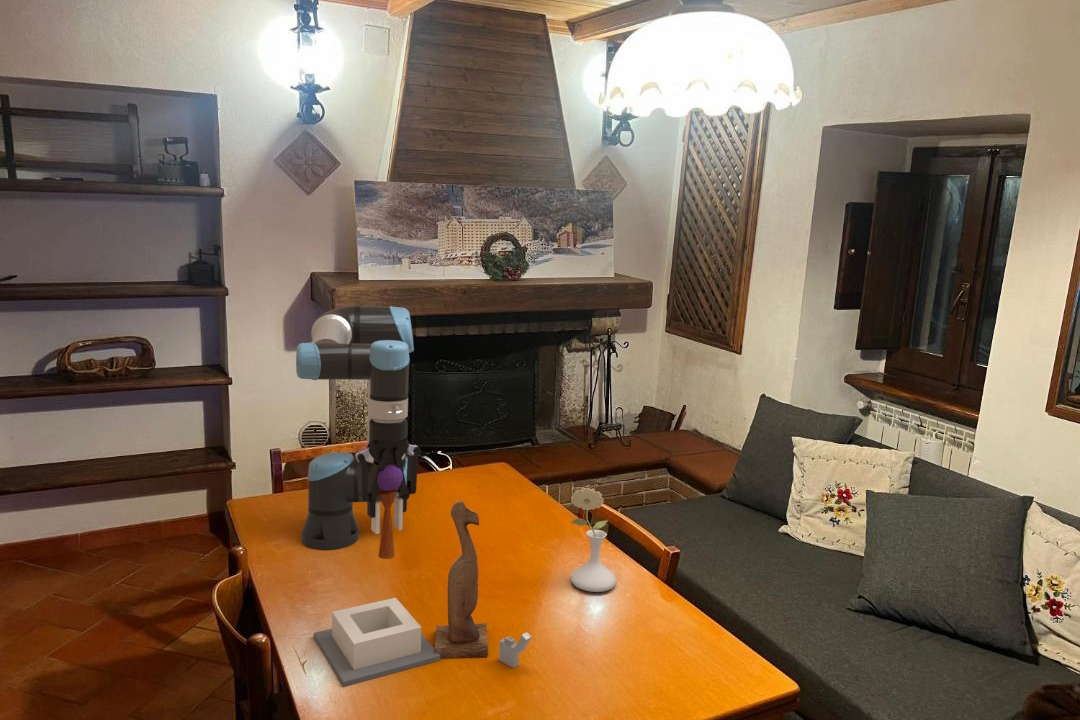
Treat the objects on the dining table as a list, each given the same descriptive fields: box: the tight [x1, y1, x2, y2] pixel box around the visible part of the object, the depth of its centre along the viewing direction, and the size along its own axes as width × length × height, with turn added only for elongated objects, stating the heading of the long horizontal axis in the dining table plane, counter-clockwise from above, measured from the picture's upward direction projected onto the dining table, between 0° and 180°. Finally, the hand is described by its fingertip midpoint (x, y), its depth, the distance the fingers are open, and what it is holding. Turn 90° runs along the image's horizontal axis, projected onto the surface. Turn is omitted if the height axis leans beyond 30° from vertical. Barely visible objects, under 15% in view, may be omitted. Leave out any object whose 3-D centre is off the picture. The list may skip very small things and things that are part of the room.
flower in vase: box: [570, 487, 617, 593], centre depth 194 cm, size 13×11×25 cm
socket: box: [313, 597, 441, 688], centre depth 162 cm, size 20×20×6 cm
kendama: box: [377, 464, 403, 560], centre depth 160 cm, size 6×6×20 cm
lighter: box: [498, 632, 532, 669], centre depth 159 cm, size 7×2×8 cm, turn 50°
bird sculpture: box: [434, 500, 489, 660], centre depth 163 cm, size 11×12×32 cm
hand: (386, 529), depth 161 cm, fingers closed on kendama, 4 cm apart
